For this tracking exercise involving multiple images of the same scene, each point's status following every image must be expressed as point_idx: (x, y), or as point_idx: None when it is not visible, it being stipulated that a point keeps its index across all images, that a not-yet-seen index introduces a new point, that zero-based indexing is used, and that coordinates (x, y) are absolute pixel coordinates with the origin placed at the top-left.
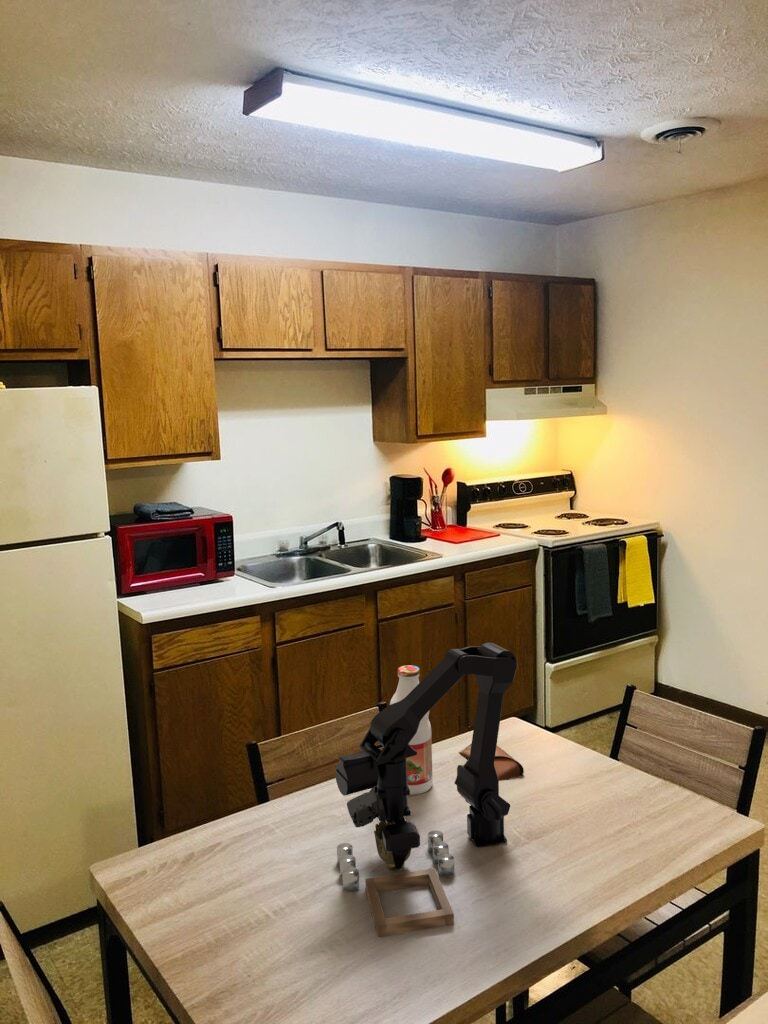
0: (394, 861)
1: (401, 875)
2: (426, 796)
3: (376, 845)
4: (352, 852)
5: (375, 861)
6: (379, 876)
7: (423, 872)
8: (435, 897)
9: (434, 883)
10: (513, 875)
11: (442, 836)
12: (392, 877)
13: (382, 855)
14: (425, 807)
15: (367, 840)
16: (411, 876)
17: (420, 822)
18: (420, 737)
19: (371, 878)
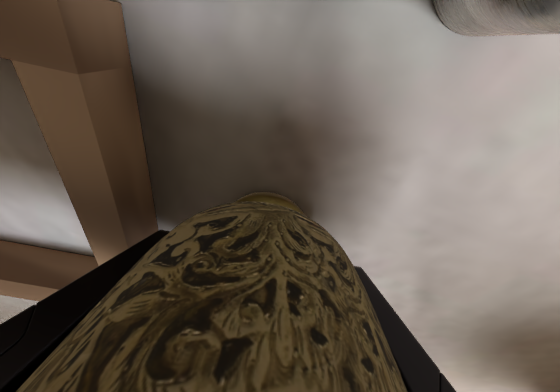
0: (106, 262)
1: (105, 227)
2: (540, 389)
3: (261, 261)
4: (505, 19)
5: (355, 166)
6: (90, 122)
7: None
8: (31, 259)
9: (53, 292)
10: None
11: None
12: (84, 187)
13: (177, 232)
14: (500, 374)
15: (550, 197)
16: (97, 255)
17: (450, 349)
18: None
19: (59, 52)
